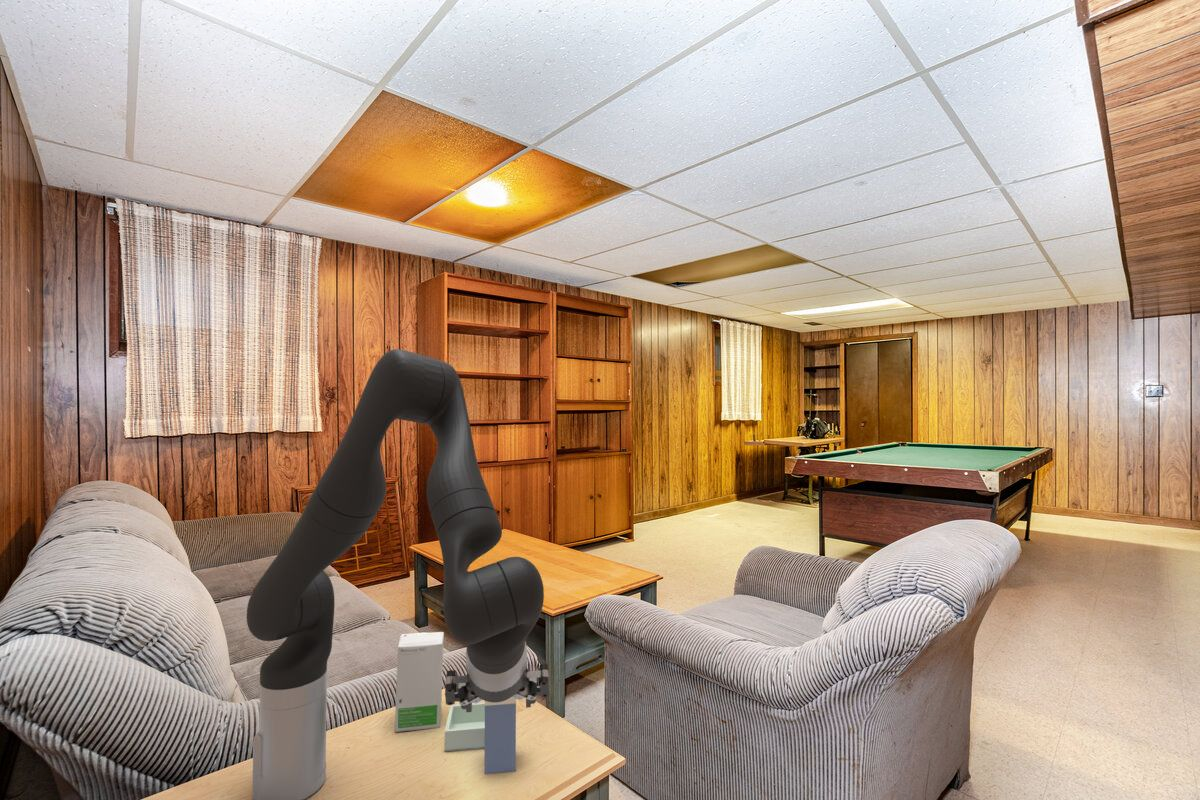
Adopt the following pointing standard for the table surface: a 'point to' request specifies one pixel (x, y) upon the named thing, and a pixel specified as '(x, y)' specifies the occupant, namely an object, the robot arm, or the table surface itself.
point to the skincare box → (419, 681)
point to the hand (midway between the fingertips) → (499, 702)
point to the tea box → (500, 736)
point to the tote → (465, 728)
